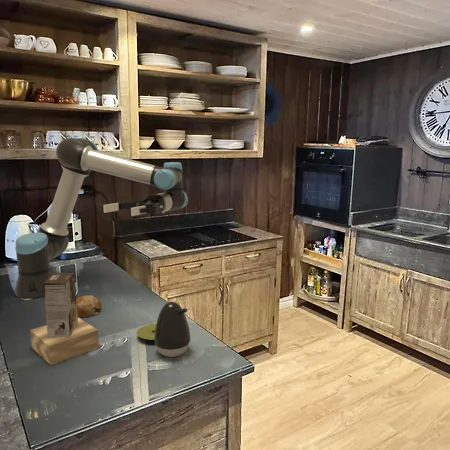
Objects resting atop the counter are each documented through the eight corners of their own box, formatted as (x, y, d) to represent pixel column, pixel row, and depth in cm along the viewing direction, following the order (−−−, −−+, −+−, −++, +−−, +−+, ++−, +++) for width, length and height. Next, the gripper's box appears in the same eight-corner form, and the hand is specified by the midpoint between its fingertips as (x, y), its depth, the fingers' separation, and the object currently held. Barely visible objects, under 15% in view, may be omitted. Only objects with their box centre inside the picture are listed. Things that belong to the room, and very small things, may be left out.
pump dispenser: (176, 365, 110) (174, 312, 107) (147, 355, 115) (145, 304, 113) (198, 349, 119) (197, 300, 116) (170, 341, 124) (169, 293, 121)
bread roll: (87, 328, 141) (95, 309, 139) (62, 314, 142) (69, 295, 140) (101, 317, 151) (109, 299, 149) (77, 304, 152) (84, 286, 150)
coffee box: (56, 323, 123) (52, 272, 120) (78, 322, 124) (75, 271, 121) (46, 337, 114) (42, 282, 111) (70, 336, 115) (66, 282, 112)
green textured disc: (180, 333, 129) (180, 327, 129) (158, 348, 119) (158, 342, 119) (152, 326, 134) (152, 320, 134) (129, 339, 125) (128, 333, 124)
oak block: (31, 349, 120) (30, 330, 119) (77, 334, 130) (76, 316, 129) (51, 366, 110) (49, 346, 109) (99, 349, 120) (97, 329, 119)
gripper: (183, 215, 155) (144, 224, 137) (135, 210, 168) (94, 217, 150) (183, 195, 154) (143, 202, 136) (134, 192, 167) (92, 197, 149)
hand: (117, 210), depth 143 cm, fingers open, 13 cm apart
